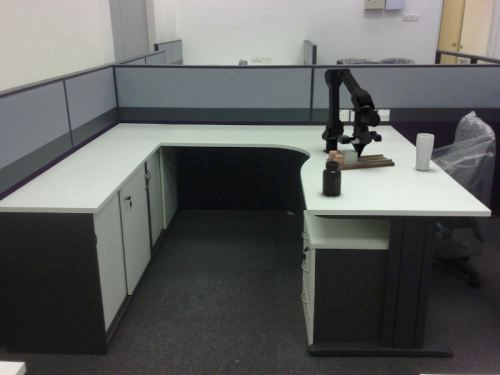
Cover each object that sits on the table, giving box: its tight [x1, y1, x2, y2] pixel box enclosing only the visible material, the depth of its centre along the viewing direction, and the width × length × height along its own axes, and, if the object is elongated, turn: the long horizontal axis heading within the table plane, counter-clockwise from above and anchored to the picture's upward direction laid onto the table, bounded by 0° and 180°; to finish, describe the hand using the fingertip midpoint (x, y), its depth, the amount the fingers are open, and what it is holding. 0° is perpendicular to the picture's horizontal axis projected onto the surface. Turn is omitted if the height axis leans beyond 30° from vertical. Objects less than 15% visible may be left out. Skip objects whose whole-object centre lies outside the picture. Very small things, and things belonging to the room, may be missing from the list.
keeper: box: [338, 149, 358, 163], centre depth 206 cm, size 6×6×4 cm
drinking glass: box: [415, 133, 435, 172], centre depth 197 cm, size 7×7×15 cm
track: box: [326, 151, 395, 171], centre depth 208 cm, size 14×26×6 cm, turn 102°
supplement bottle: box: [321, 160, 342, 197], centre depth 171 cm, size 7×7×12 cm
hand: (358, 157), depth 208 cm, fingers closed
